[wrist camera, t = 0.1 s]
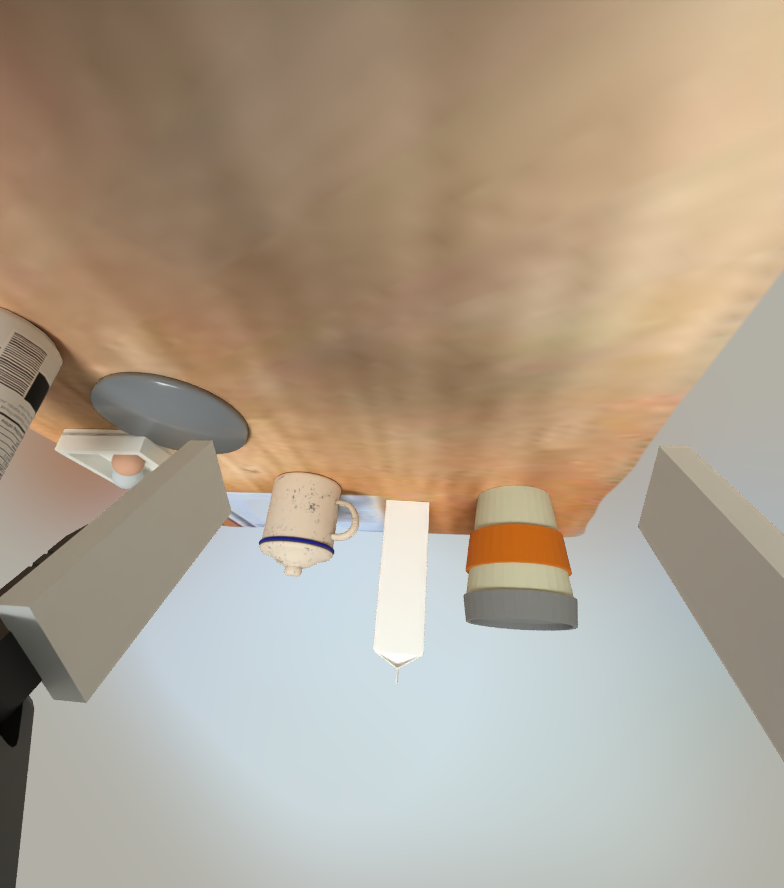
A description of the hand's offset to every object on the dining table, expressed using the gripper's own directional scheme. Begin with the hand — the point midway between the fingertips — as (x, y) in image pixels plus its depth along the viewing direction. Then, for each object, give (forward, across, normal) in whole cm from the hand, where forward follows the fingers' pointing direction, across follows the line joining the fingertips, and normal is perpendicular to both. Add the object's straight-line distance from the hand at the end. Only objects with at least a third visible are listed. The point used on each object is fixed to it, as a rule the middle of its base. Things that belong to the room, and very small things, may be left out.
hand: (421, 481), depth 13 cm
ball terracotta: (+26, -34, -15) cm, 46 cm away
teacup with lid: (+35, -16, -22) cm, 44 cm away
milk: (+39, -5, -29) cm, 49 cm away
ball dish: (+29, -36, -15) cm, 49 cm away
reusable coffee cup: (+36, +9, -25) cm, 45 cm away
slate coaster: (+25, -26, -9) cm, 37 cm away
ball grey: (+29, -37, -18) cm, 50 cm away
